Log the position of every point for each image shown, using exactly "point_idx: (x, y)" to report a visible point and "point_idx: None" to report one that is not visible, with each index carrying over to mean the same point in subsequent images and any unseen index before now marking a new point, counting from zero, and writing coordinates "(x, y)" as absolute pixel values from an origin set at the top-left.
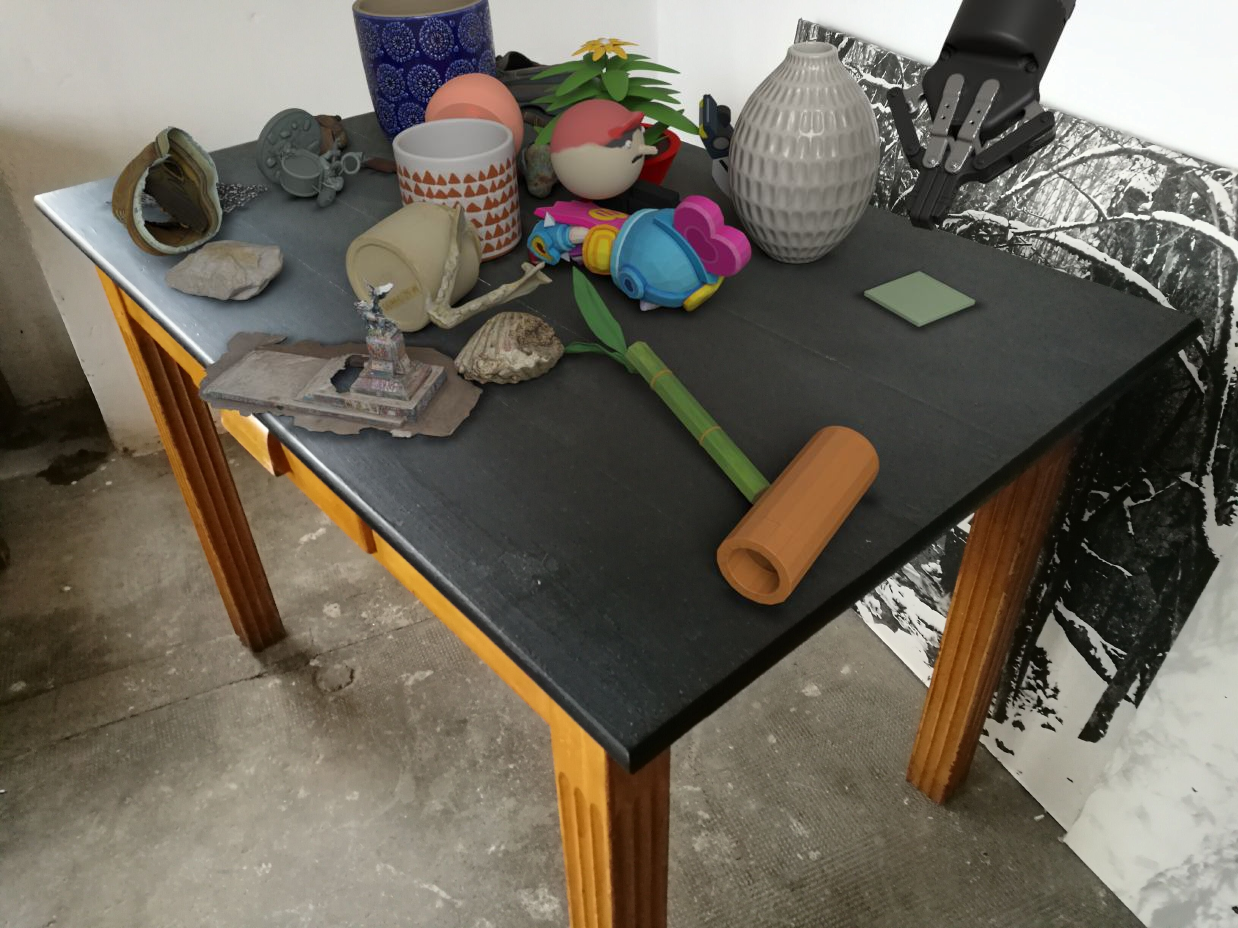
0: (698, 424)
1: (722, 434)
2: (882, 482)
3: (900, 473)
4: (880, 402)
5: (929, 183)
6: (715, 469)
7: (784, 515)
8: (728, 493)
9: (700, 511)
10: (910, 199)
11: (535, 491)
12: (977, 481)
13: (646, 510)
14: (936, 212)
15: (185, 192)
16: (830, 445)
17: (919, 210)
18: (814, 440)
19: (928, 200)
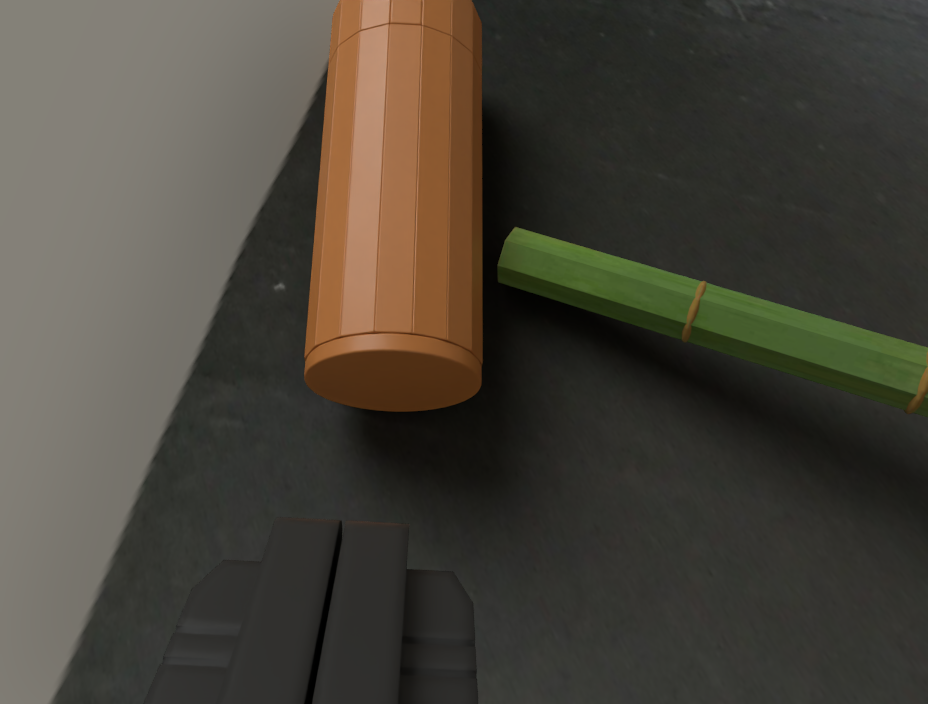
0: (732, 294)
1: (668, 301)
2: (313, 467)
3: None
4: None
5: (341, 686)
6: None
7: (392, 43)
8: None
9: (597, 208)
10: (456, 627)
11: (877, 117)
12: (107, 588)
13: (681, 166)
14: (240, 579)
15: None
16: (403, 267)
17: (352, 536)
18: (453, 299)
19: (308, 585)
